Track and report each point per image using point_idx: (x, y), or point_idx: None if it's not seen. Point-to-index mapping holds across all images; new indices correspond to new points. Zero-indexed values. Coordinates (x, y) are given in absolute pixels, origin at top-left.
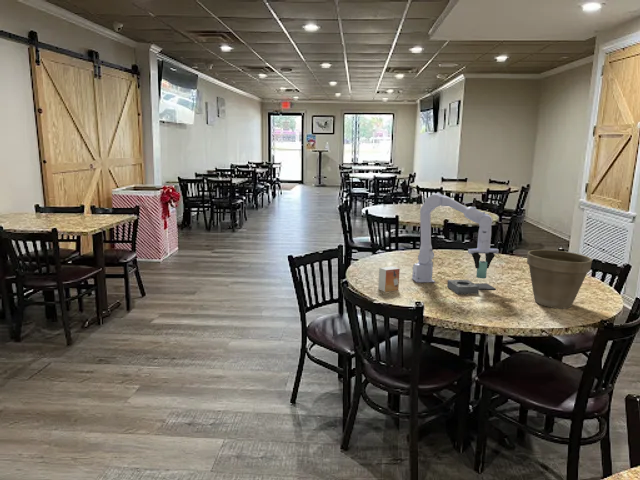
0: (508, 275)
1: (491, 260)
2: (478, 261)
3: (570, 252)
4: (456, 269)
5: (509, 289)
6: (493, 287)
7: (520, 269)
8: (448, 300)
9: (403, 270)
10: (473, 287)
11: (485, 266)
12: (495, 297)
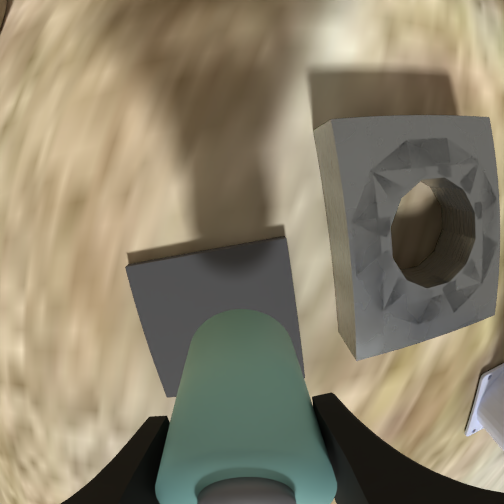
0: (51, 492)
1: (74, 496)
2: (374, 464)
3: None
4: None
5: (37, 282)
6: (136, 297)
7: None
8: (498, 34)
9: (480, 483)
10: (380, 117)
11: (207, 405)
12: (199, 51)
